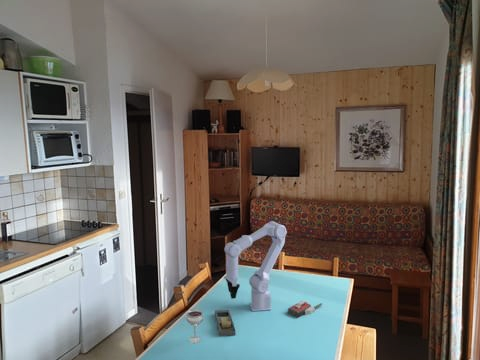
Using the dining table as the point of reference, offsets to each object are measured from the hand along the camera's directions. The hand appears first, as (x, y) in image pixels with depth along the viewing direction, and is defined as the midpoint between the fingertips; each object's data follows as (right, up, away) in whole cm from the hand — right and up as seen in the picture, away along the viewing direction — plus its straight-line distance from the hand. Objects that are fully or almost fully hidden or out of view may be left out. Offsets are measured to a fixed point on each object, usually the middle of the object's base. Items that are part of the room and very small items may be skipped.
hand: (232, 294), depth 182 cm
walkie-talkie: (+36, -10, +5) cm, 38 cm away
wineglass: (-15, -12, -22) cm, 30 cm away
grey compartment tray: (-3, -11, -9) cm, 15 cm away
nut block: (-2, -11, -14) cm, 18 cm away
